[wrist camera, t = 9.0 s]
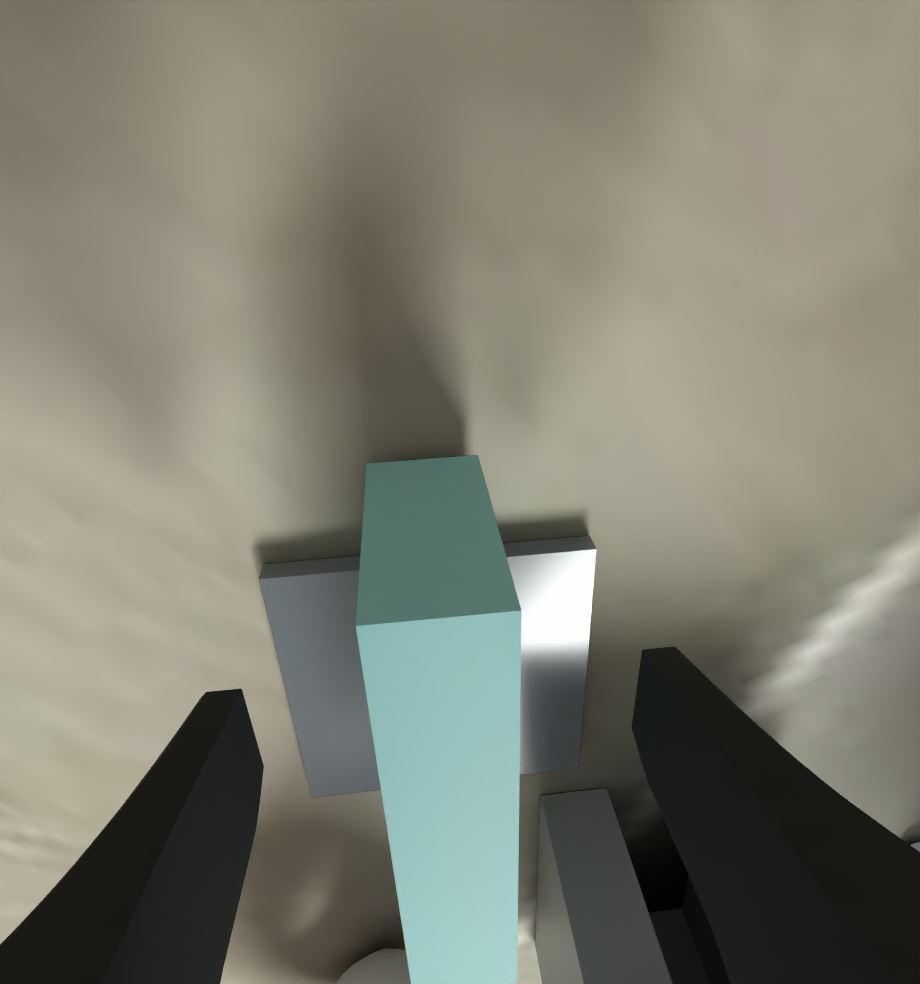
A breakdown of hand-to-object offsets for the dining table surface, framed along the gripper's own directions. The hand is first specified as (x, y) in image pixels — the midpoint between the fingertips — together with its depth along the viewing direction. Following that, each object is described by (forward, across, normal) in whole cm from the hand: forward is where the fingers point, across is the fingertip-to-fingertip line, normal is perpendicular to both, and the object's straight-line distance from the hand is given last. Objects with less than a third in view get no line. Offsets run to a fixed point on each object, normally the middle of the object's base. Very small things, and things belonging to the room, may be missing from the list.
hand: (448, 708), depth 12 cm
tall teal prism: (+4, 0, +2) cm, 5 cm away
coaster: (+5, 0, +4) cm, 6 cm away
